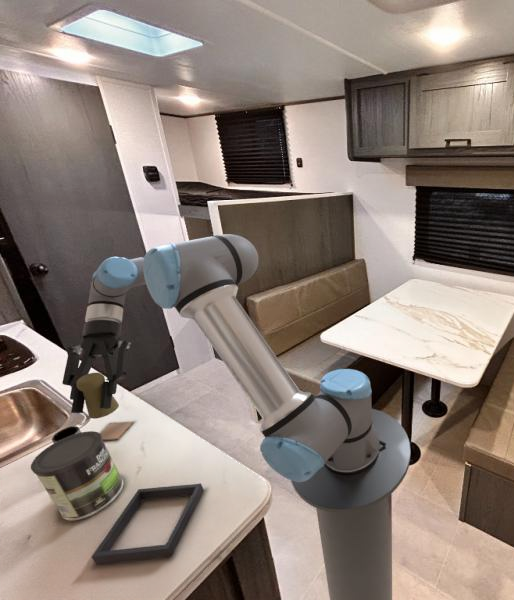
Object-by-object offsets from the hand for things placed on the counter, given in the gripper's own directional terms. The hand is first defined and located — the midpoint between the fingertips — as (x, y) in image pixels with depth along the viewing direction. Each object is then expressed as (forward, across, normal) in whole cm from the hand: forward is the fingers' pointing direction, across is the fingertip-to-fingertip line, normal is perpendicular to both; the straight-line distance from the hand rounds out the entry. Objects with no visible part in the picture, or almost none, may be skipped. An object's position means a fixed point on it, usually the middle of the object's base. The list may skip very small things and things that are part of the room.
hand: (91, 410), depth 79 cm
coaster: (+5, 0, -10) cm, 11 cm away
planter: (+12, +2, -3) cm, 13 cm away
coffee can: (+20, -6, +4) cm, 21 cm away
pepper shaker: (0, 0, -5) cm, 5 cm away
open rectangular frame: (+27, -21, +12) cm, 36 cm away
